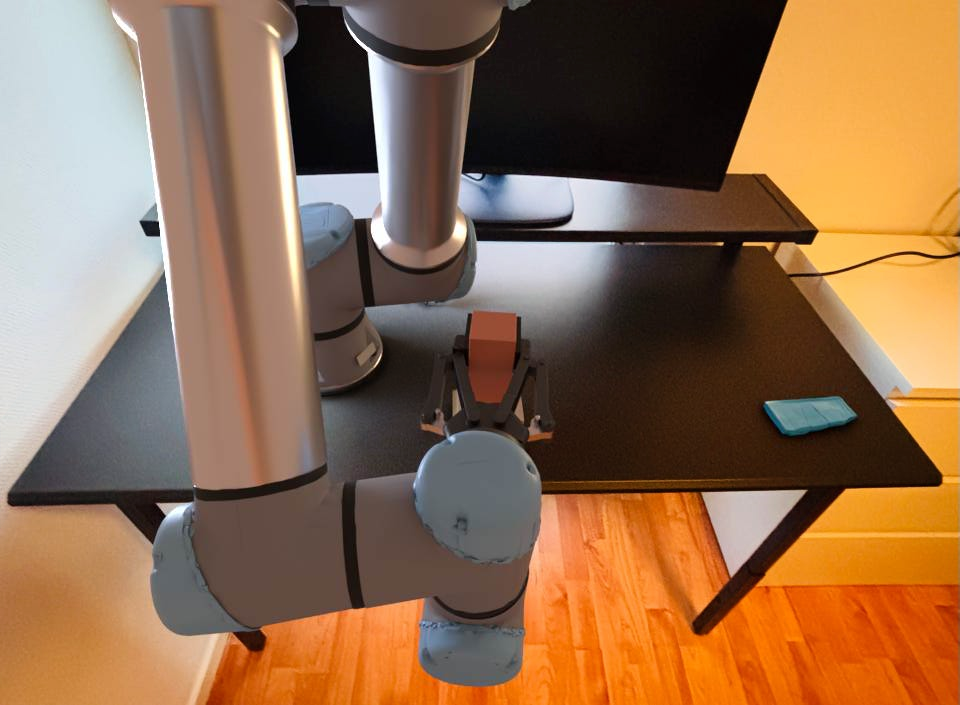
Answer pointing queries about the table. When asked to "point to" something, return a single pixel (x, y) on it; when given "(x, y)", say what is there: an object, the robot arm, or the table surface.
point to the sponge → (808, 414)
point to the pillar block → (491, 354)
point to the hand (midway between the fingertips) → (493, 323)
